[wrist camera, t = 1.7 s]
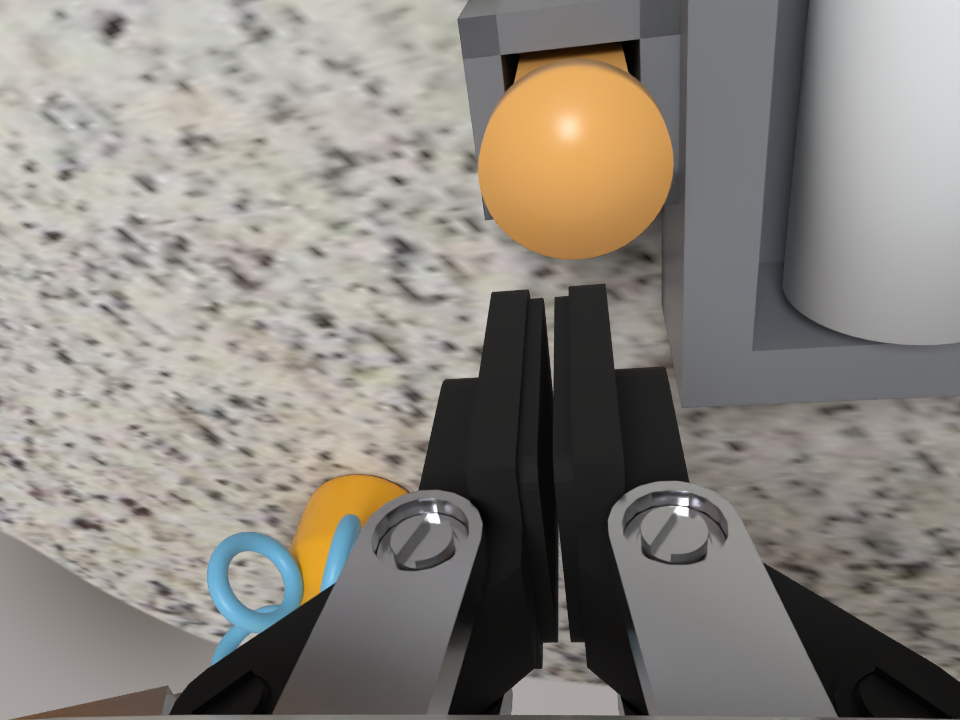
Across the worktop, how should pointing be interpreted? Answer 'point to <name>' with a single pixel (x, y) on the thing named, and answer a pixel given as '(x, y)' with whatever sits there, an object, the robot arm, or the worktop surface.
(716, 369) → the housing
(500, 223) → the plunger
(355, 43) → the worktop surface
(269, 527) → the worktop surface
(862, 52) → the cartridge
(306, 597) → the ringed yellow tube
